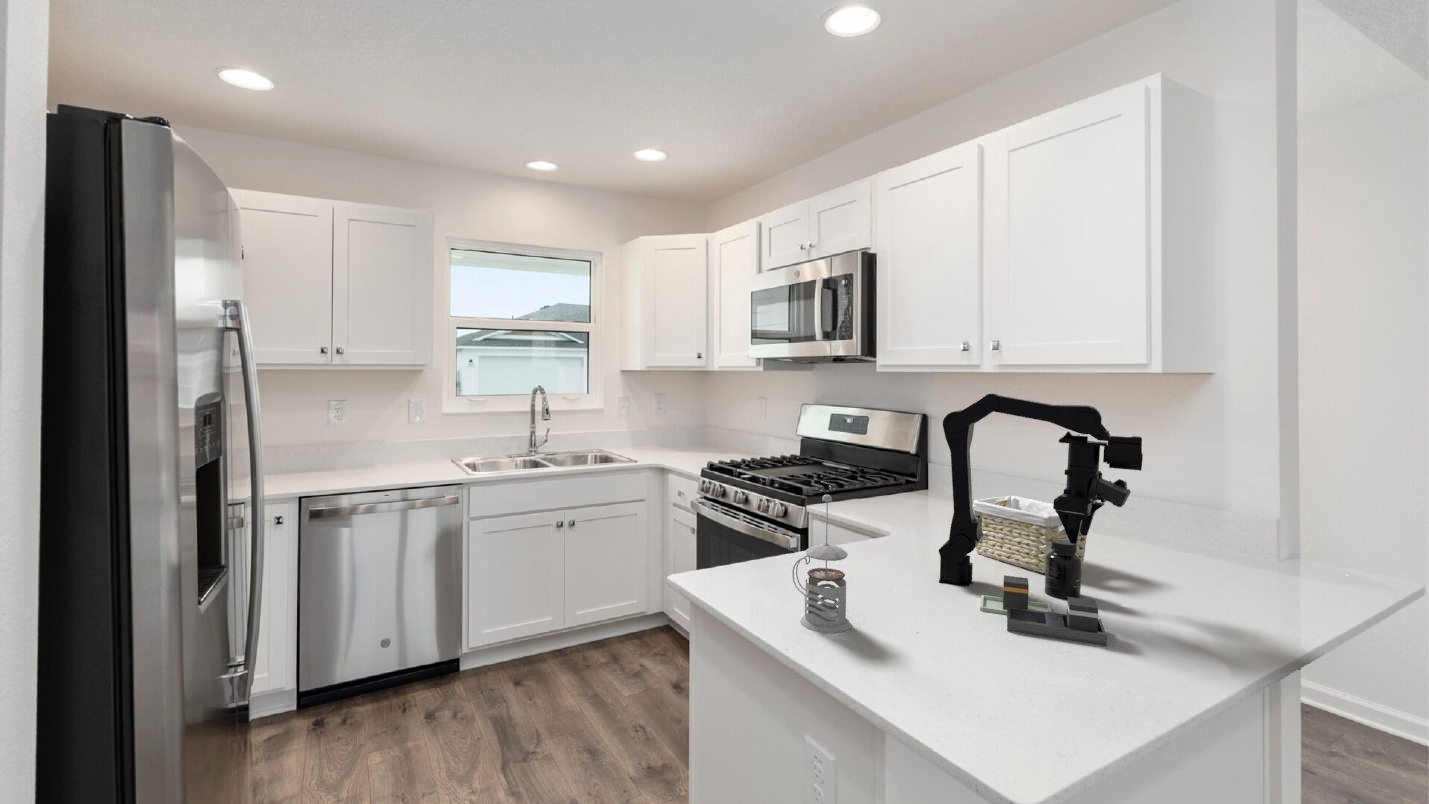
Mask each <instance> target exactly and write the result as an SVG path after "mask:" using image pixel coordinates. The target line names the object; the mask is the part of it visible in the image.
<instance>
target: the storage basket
mask: <svg viewBox="0 0 1429 804" xmlns="http://www.w3.org/2000/svg"><path fill="white" fill-rule="evenodd" d="M1053 505H1054V503H1049V502H1044V501H1040V500H1036V499H1030V498H1025V497H1023V496H1022V497H1021V496H1017V495H1007V496H997V497H995V496H994V497H987V498H980V499H979V498H978V499H975V500H973V512H974V515H975V517H976V519H978V518H982V532H983V534H984V535H983V537H982V538H981V539H980V542H979V543H978V545H977V546H976V547H975V551H976V552H975V553H977V554H978V555H982V556H983V557H987V558H988V557H989V558H991V559H994V560H998V561H999V562H1005V563H1008V564H1012V565H1014V566H1015V567H1018V568H1019V567H1020V568H1024V569H1028V570H1030V571H1034V572H1037V573H1041V574H1045V573H1046V556H1047V554H1048V553H1050V552H1052V551H1053V550H1052V549H1051V546H1052V540H1067V541H1069V539H1068V536H1067V534H1066V532H1065V529H1064V527H1063V525H1062V522H1061V520H1060V518H1059V516H1058V514H1057V513H1056V511H1055V509H1053ZM1087 536H1088V535H1087ZM1087 536H1084V535H1081V532H1079V536H1078V540H1077V552H1076V553H1075V554H1076V555H1077V556H1078V557H1079V558H1080V559H1081V568H1082V567H1083V566H1084V559H1085V558H1084V557H1085V553H1086V544H1087Z"/></svg>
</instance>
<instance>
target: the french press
mask: <svg viewBox="0 0 1429 804" xmlns="http://www.w3.org/2000/svg"><path fill="white" fill-rule="evenodd" d="M821 500H822V502H826V511H825V512H826V520H825V521H826V522H825V524H826V527H825V528H826V529H825V530H826V531H825V532H826V534H825V541H826V542H825V543H819V544H815V545H813V546H811V547H809V548H807V549H806V550H805V552H804V553H805V554H806V555H804V556H802V557H801V558H799V559H798V560H797V561H795V563H794V565H793V567H792V571H791V572H792V581H793V584H794V587H795V588H796V589H797V591H798V592H799V593H801V594H802V596H804V615H803V616H802V617H801V618H800V620H799V623H800V625H801V626H802V627H804V628H806V629H807V630H810V631H812V632H817V633H825V634H829V633H830V634H836V633H841V632H845V631H847V630H850V629H851V626H852V623H851V622H850V620H849V619H848V618H847V615H846V614H847V609H846V608H847V581H846V579H844V577H845V576H846V574H845V573H844V571H842V570H839V569H835V568H831V567H830V568H829V567H827V566H828V561H829V562H835V561H842V560H845V559H847V557H848V556H849V553H848V552H847V551H846V550H845V549H843V548H842V547H839V546H837V545H836V544H831V543H828V514H829V513H828V511H829V510H828V508H829V502H830V503H831V502H833V497H832V496H831V495H830V494H824V495H823V496H822V499H821ZM807 558H808V559H807ZM811 559H813V560H814V559H815V560H819V561H825V567H816V568H811V569H809V570H808V571H807V575H808V579H807V578H806V579H805V588H804V586H803V585H802V584H801V582H800V580H799V576H798V567H799V565H800V563H801V561H803V560H804V561H805V565H809V563H811ZM795 576H796V580H797V583H798V585H799V586H800V587H801V589H803V591H805V593H804V592H803V591H802V590H800V589H799V587H798V586H797V583H796V581H795ZM821 582H833V583H834V584H836V585H837V587H836V585H833V584H831V583H822V584H819V583H821ZM819 596H821V597H819ZM827 600H829V601H832V602H829V601H827Z"/></svg>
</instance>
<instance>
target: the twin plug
mask: <svg viewBox="0 0 1429 804" xmlns="http://www.w3.org/2000/svg"><path fill="white" fill-rule="evenodd" d="M1066 614H1067V627H1069V628H1076V629H1083V630H1089V631H1096V632H1097V630H1098V619H1099V607H1098V604H1097V601H1096V600H1095V599H1087V598H1081V597H1080V598H1074V597H1068V600H1066Z"/></svg>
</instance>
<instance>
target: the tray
mask: <svg viewBox="0 0 1429 804" xmlns="http://www.w3.org/2000/svg"><path fill="white" fill-rule="evenodd" d="M1028 609H1031V610H1038V611H1045V612H1052V609H1051V604H1050V603H1043V602H1039V601H1038V602H1037V601H1029V600H1028ZM979 611H980V612H986V613H992V614H999V615H1006V616H1007V610H1003V597H1000V596H993V595H987V594H986V595H984V594H981V596H980V603H979Z"/></svg>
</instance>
